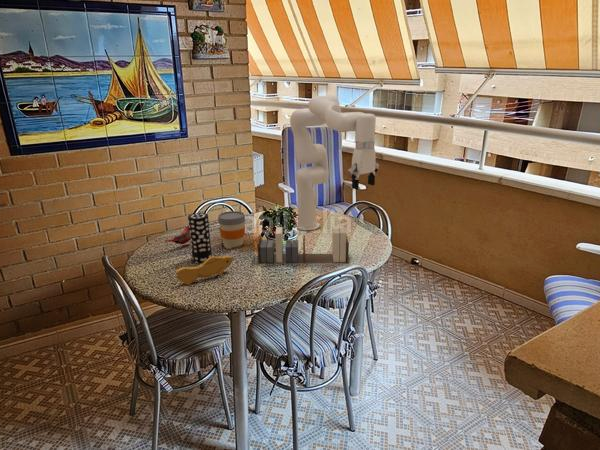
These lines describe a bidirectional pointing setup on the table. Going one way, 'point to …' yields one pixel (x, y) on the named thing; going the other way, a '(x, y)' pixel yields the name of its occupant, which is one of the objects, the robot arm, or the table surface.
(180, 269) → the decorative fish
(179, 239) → the decorative bird figurine
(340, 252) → the cream books
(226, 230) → the reusable coffee cup
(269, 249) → the grey books
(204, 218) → the white-spotted black cylinder
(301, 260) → the book rack
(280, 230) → the cream book
